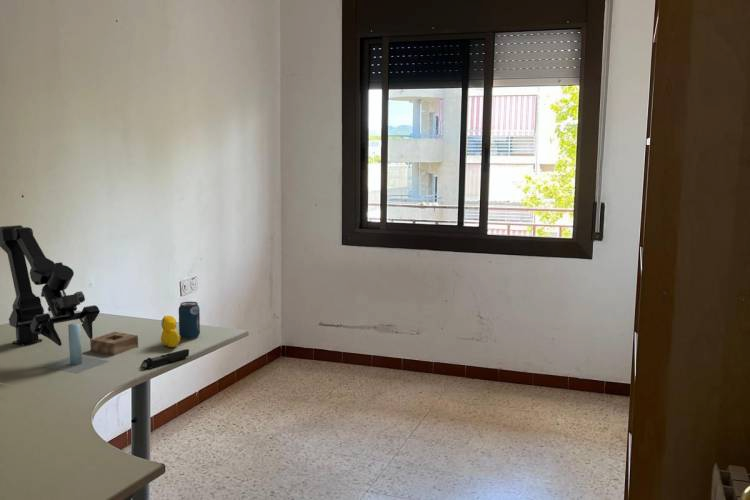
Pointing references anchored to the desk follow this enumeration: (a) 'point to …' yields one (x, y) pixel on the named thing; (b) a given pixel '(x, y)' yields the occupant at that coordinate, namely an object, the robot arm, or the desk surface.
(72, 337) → the peg
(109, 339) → the hole block
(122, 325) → the desk surface
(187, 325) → the soda can
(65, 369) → the mat
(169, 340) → the duckling
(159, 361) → the electric trimmer
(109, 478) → the desk surface
